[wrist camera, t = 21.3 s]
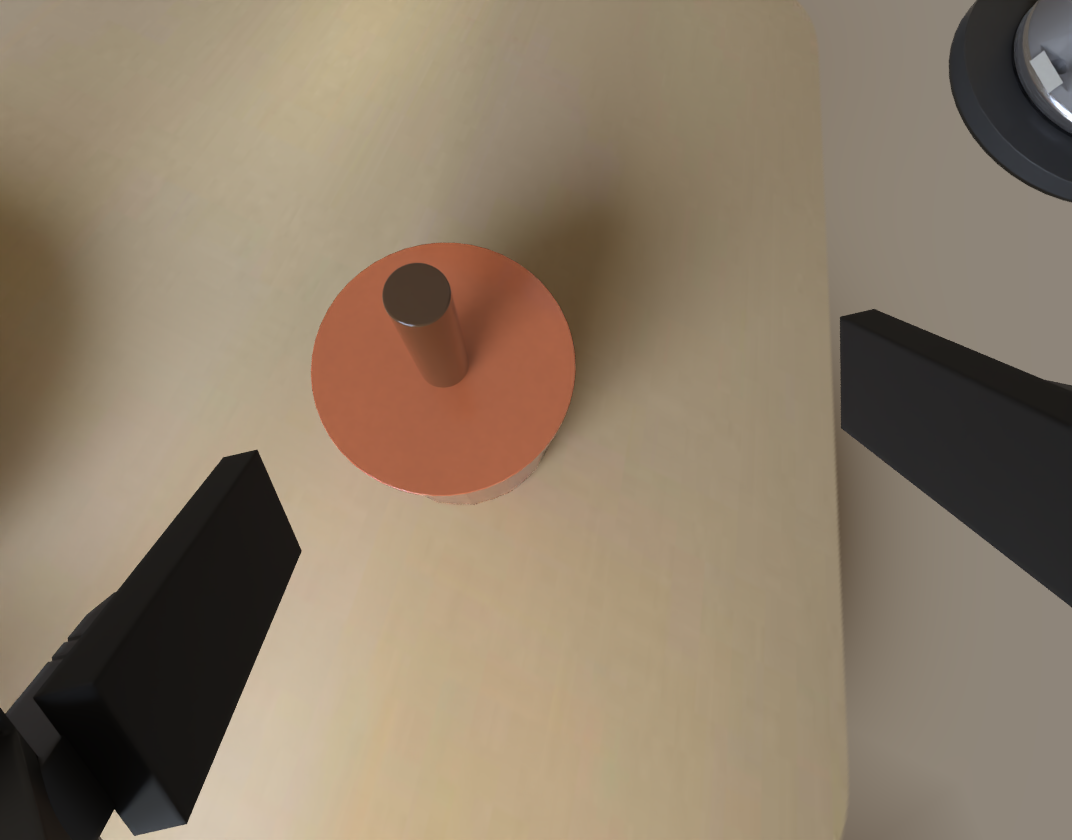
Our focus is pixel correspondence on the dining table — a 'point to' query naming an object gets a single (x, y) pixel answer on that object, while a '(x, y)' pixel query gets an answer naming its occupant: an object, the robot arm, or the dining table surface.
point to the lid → (443, 369)
